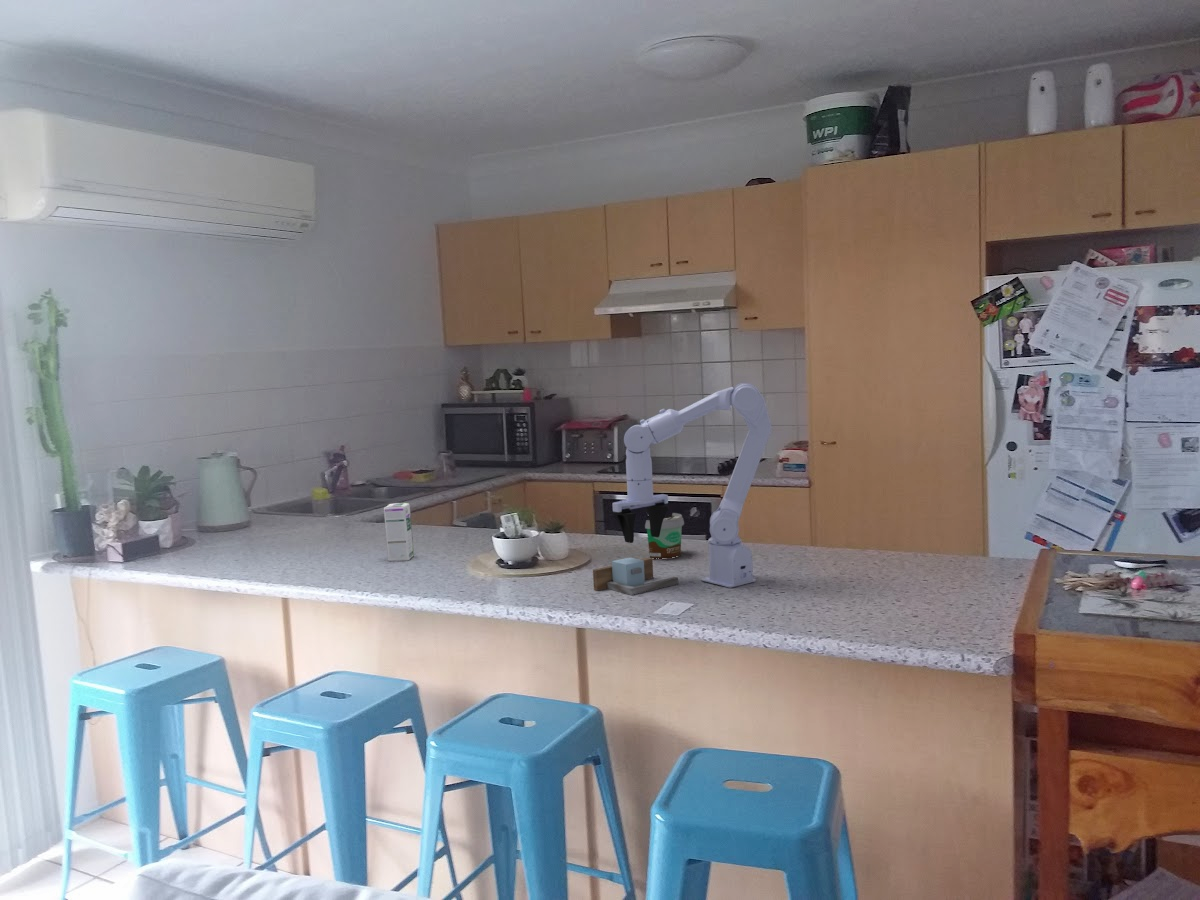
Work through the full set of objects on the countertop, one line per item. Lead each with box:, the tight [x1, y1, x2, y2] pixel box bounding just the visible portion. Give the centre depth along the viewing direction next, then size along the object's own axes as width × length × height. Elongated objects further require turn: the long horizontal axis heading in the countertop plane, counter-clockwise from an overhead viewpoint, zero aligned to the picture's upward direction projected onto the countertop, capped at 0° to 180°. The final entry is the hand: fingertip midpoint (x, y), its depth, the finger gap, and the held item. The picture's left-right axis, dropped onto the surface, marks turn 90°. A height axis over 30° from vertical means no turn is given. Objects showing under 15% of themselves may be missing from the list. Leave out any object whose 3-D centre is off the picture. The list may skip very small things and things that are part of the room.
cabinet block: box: [611, 556, 646, 587], centre depth 209 cm, size 6×5×6 cm
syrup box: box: [383, 502, 415, 562], centre depth 250 cm, size 6×6×14 cm
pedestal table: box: [592, 557, 679, 596], centre depth 209 cm, size 10×16×4 cm, turn 127°
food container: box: [644, 512, 685, 560], centre depth 238 cm, size 12×6×10 cm, turn 140°
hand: (642, 539), depth 212 cm, fingers open, 7 cm apart
